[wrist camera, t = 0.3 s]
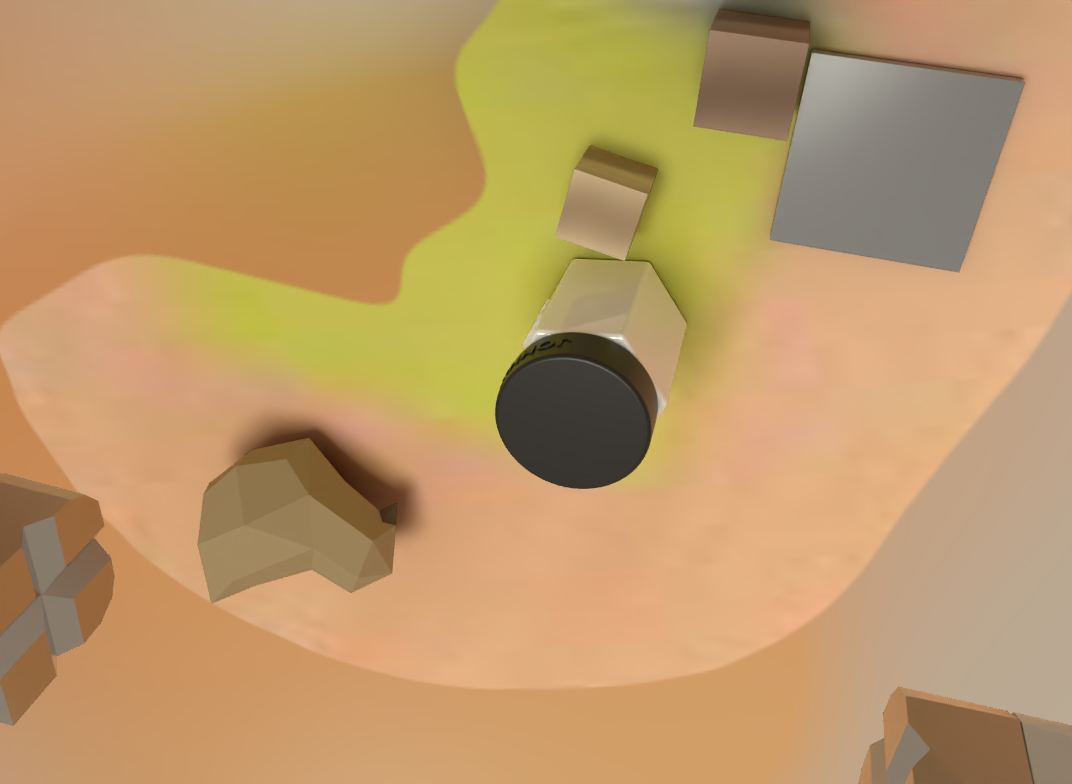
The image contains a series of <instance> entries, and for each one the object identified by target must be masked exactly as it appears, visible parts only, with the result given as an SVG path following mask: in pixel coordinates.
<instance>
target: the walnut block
mask: <svg viewBox="0 0 1072 784" xmlns="http://www.w3.org/2000/svg"><path fill="white" fill-rule="evenodd" d="M809 37H810V22H808V21H801V20H793V19H786V18H779V17H772V16H764V15H757V14H750V13H742V12H735V11H728V10H721V9H719V11H718V13H717V15H716V17H715V20H714V22H713V24H712V26H711V29H710V32H709V38H708V44H707V50H706V55H705V61H704V67H703V73H702V79H701V84H700V90H699V96H698V102H697V108H696V114H695V119H694V125H693V126H694V127H700V128H707V129H713V130H719V131H726V132H732V133H739V134H745V135H751V136H758V137H764V138H771V139H777V140H783V141H787V140H788V135H789V131H790V126H791V122H792V118H793V113H794V109H795V104H796V100H797V96H798V91H799V87H800V82H801V78H802V73H803V69H804V65H805V60H806V56H807V51H808V47H809Z"/></svg>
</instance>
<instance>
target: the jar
mask: <svg viewBox="0 0 1072 784" xmlns="http://www.w3.org/2000/svg"><path fill="white" fill-rule="evenodd" d="M686 327H687V323H686V321H685V319H684V318H683V316H682V314H681V313H680V311H679V309H678V308H677V306H676V305H675V303H674V301H673V300H672V298H671V296H670V295H669V293H668V291H667V290H666V288H665V287H664V285H663V283H662V282H661V280H660V278H659V277H658V275H657V273H656V272H655V270H654V268H653V267H652V265H651V264H650V263H649V262H644V261H620V260H595V259H573V260H572V261H571V262H570V264H569V266H568V268H567V269H566V271H565V273H564V274H563V276H562V278H561V280H560V281H559V283H558V285H557V287H556V288H555V290H554V292H553V293H552V295H551V297H550V299H549V300H546V302H545V304H544V305H543V307H542V309H541V311H540V313H539V315H538V316H537V318H536V320H535V322H534V324H533V325H532V327H531V329H530V331H529V333H528V334H527V336H526V338H525V340H524V342H523V344H522V346H523V348H522V350H521V352H520V354H519V356H518V357H517V359H516V360H515V362H513V364H512V365H511V367H510V368H509V370H508V372H507V373H506V375H505V377H504V379H503V381H502V382H503V383H502V385H501V387H500V391H499V393H498V396H497V401H496V408H495V417H496V424H497V428H498V431H499V434H500V437H501V439H502V441H503V443H504V445H505V446H506V448H507V449H508V451H509V452H510V454H511V455H512V456H513V457H514V458H515V459H516V460H517V461H518V462H519V463H520V464H521V465H522V466H523V467H524V468H525V469H527V470H528V471H529V472H531V473H532V474H534V475H536V476H537V477H539V478H541V479H543V480H545V481H548V482H550V483H553V484H556V485H559V486H563V487H569V488H577V489H590V488H598V487H603V486H607V485H610V484H613V483H615V482H617V481H619V480H621V479H623V478H625V477H626V476H628V475H629V474H630V473H632V472H633V471H634V470H635V469H636V468H637V467H638V465H639V464H640V463H641V462H642V460H643V459H644V457H645V455H646V453H647V451H648V448H649V445H650V442H651V438H652V434H653V430H654V426H655V422H656V420H657V418H658V417H659V416H660V414H661V413H662V411H663V410H664V409H665V407H666V406H667V403H668V399H669V395H670V391H671V387H672V383H673V379H674V375H675V371H676V367H677V363H678V359H679V355H680V351H681V347H682V343H683V339H684V335H685V331H686Z"/></svg>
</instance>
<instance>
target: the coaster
mask: <svg viewBox="0 0 1072 784" xmlns="http://www.w3.org/2000/svg"><path fill="white" fill-rule="evenodd" d="M1024 84H1025V82H1024V81H1023V79H1022V78H1015V77H1008V76H1001V75H993V74H986V73H979V72H972V71H965V70H958V69H951V68H943V67H936V66H929V65H922V64H915V63H908V62H901V61H893V60H886V59H879V58H872V57H865V56H858V55H850V54H843V53H836V52H829V51H822V50H815V49H812V52H811V57H810V61H809V66H808V70H807V74H806V79H805V83H804V88H803V92H802V96H801V101H800V105H799V110H798V114H797V118H796V123H795V127H794V132H793V136H792V141H791V145H790V149H789V154H788V158H787V163H786V167H785V171H784V176H783V180H782V185H781V189H780V193H779V198H778V202H777V207H776V211H775V216H774V220H773V224H772V229H771V233H770V240H773V241H778V242H784V243H790V244H796V245H802V246H808V247H813V248H819V249H825V250H831V251H837V252H843V253H849V254H854V255H860V256H866V257H872V258H878V259H884V260H889V261H895V262H901V263H907V264H913V265H919V266H925V267H930V268H936V269H942V270H948V271H954V272H959V271H960V269H961V266H962V263H963V260H964V257H965V254H966V251H967V248H968V245H969V243H970V240H971V237H972V234H973V231H974V228H975V225H976V222H977V220H978V217H979V214H980V211H981V208H982V205H983V202H984V199H985V196H986V194H987V191H988V188H989V185H990V182H991V179H992V176H993V173H994V170H995V168H996V165H997V162H998V159H999V156H1000V153H1001V150H1002V147H1003V145H1004V142H1005V139H1006V136H1007V133H1008V130H1009V127H1010V124H1011V121H1012V119H1013V116H1014V113H1015V110H1016V107H1017V104H1018V101H1019V98H1020V95H1021V93H1022V90H1023V87H1024Z"/></svg>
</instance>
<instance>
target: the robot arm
mask: <svg viewBox="0 0 1072 784" xmlns="http://www.w3.org/2000/svg"><path fill="white" fill-rule="evenodd" d="M103 527H104V522H103V518H102V514H101V510H100V506H99V502H98V501H97V500H95V499H93V498H91V497H89V496H86V495H84V494H80V493H76V492H72V491H68V490H65V489H61V488H57V487H54V486H50V485H46V484H42V483H38V482H34V481H31V480H27V479H23V478H20V477H16V476H12V475H8V474H1V473H0V722H1V723H5V724H9V725H15V723H16V722H17V721H18V720H19V718H21V716H22V715H23V714H24V713H25V712H26V711H27V709H28V708H29V707H30V706H31V705H32V704H33V703H34V701H35V700H36V699H37V698H38V697H39V695H40V694H41V693H42V692H43V691H44V690H45V688H46V687H47V686H48V685H49V684H50V683H51V682H52V680H53V679H54V678H55V677H56V676H57V656H58V655H60V654H62V653H65V652H67V651H69V650H71V649H73V648H75V647H78V646H80V645H82V644H84V643H85V642H86V640H87V639H88V638H89V637H90V636H91V634H92V633H93V632H94V631H95V629H96V628H97V627H98V625H100V623H101V622H102V619H103V617H104V615H105V612H106V610H107V608H108V605H109V603H110V600H111V598H112V594H113V584H114V571H113V566H112V561H111V557H110V556H109V555H108V554H107V552H106V551H105V550H104V549H103V548H102V547H101V546H100V544H99V543H98V542H97V541H96V539H95V537H96V536H97V535H98V533H99V532H100V531H101V530H102V528H103ZM883 722H884V738H883V739H881V740H880V741H878V742H875V743H873V744H872V745H870V747H869V749H868V752H867V755H866V758H865V760H864V763H863V766H862V769H861V774H860V778H859V783H858V784H1072V726H1071V725H1067V724H1063V723H1058V722H1054V721H1049V720H1045V719H1040V718H1036V717H1032V716H1027V715H1023V714H1018V713H1009V712H1008V711H1004V710H1000V709H996V708H991V707H987V706H983V705H978V704H974V703H970V702H965V701H961V700H956V699H952V698H948V697H943V696H939V695H934V694H930V693H925V692H921V691H916V690H912V689H908V688H903V687H898V688H897V689H896V690H895V691H894V692H893V693H892V694H891V696H890V699H889V701H888V703H887V706H886V708H885V710H884V712H883Z"/></svg>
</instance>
